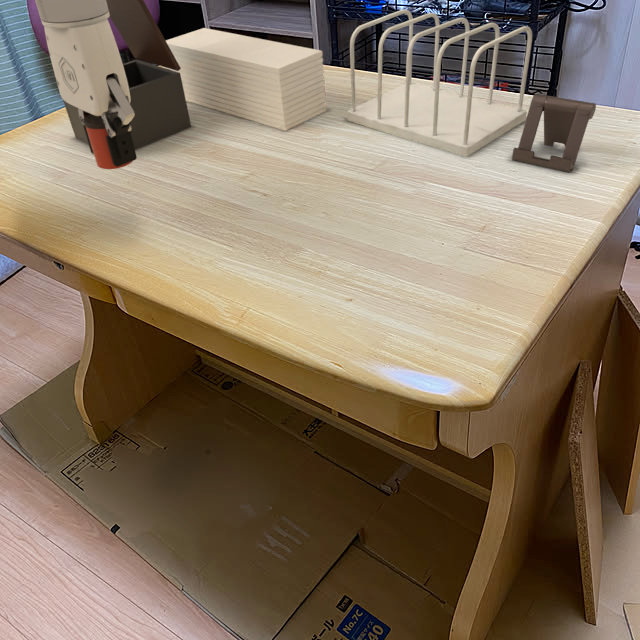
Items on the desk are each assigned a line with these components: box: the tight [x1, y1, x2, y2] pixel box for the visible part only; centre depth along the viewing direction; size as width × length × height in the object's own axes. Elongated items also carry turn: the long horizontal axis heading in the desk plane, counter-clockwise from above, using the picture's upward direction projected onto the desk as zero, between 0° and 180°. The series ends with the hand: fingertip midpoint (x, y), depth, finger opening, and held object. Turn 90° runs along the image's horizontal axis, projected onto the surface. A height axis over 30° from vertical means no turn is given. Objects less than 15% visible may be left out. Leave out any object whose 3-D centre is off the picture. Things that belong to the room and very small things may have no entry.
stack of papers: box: [165, 27, 327, 132], centre depth 116 cm, size 32×11×11 cm, turn 48°
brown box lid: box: [106, 0, 181, 71], centre depth 104 cm, size 17×14×5 cm
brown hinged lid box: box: [61, 59, 192, 151], centre depth 109 cm, size 16×14×10 cm
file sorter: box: [346, 8, 533, 157], centre depth 102 cm, size 25×17×16 cm
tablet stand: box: [511, 93, 597, 173], centre depth 91 cm, size 9×8×8 cm
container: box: [83, 113, 134, 170], centre depth 80 cm, size 5×5×6 cm
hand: (113, 155), depth 82 cm, fingers closed on container, 4 cm apart
